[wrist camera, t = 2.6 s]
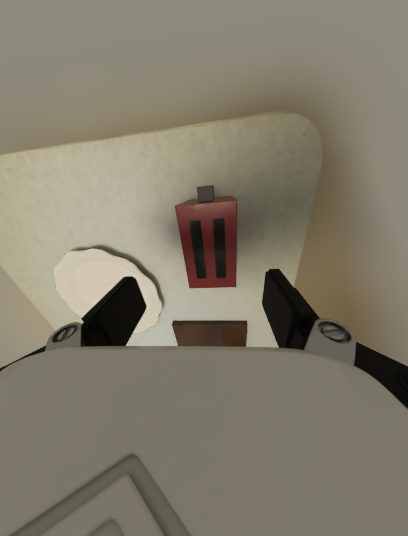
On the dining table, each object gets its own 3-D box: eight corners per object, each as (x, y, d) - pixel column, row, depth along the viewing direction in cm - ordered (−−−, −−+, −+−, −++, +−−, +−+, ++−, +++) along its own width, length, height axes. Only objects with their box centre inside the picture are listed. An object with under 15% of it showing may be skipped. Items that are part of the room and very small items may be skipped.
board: (246, 320, 31) (247, 324, 30) (244, 359, 37) (244, 363, 36) (173, 320, 33) (171, 324, 32) (183, 357, 39) (182, 361, 38)
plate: (152, 338, 36) (149, 344, 35) (66, 310, 34) (59, 315, 32) (176, 272, 26) (173, 277, 25) (56, 226, 24) (46, 229, 23)
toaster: (231, 184, 19) (237, 182, 13) (231, 262, 24) (236, 287, 18) (186, 189, 20) (171, 189, 14) (196, 263, 25) (189, 288, 19)
